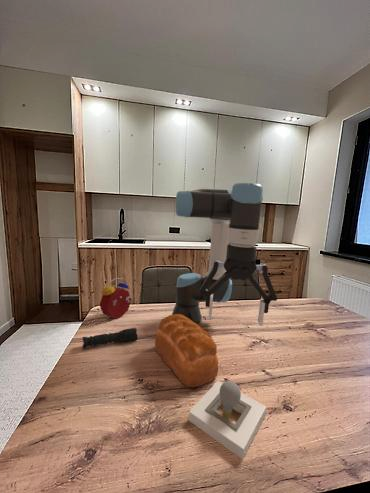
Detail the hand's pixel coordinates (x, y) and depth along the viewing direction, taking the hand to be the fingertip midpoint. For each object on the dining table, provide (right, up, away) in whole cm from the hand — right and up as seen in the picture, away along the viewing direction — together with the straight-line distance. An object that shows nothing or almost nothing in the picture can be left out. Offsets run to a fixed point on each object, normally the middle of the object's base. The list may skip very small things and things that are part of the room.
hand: (234, 320), depth 64 cm
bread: (-14, -22, +20) cm, 33 cm away
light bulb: (-3, -25, -2) cm, 26 cm away
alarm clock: (-48, -15, +53) cm, 73 cm away
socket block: (-2, -25, -2) cm, 25 cm away
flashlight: (-44, -19, +29) cm, 56 cm away
